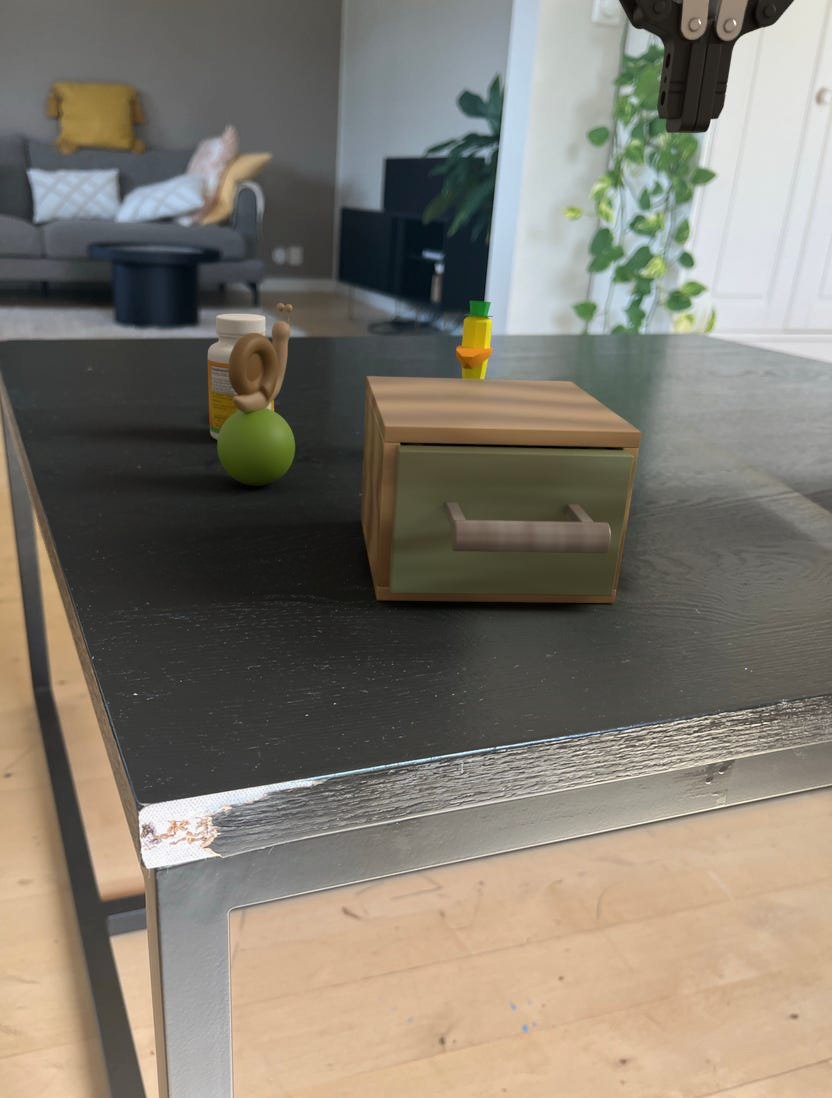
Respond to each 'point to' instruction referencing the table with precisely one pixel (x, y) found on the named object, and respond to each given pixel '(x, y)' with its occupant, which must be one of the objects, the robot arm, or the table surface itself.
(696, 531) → the table surface
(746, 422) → the table surface
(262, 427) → the snail figurine
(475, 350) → the toy figure
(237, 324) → the supplement bottle
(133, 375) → the table surface
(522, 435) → the cabinet
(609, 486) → the drawer
